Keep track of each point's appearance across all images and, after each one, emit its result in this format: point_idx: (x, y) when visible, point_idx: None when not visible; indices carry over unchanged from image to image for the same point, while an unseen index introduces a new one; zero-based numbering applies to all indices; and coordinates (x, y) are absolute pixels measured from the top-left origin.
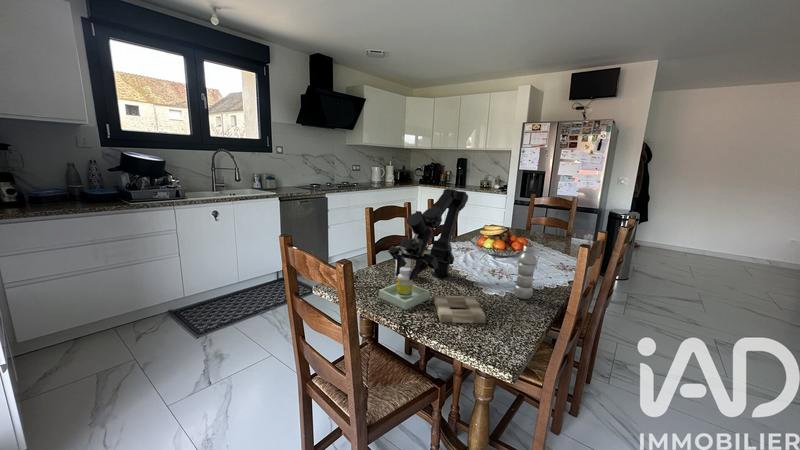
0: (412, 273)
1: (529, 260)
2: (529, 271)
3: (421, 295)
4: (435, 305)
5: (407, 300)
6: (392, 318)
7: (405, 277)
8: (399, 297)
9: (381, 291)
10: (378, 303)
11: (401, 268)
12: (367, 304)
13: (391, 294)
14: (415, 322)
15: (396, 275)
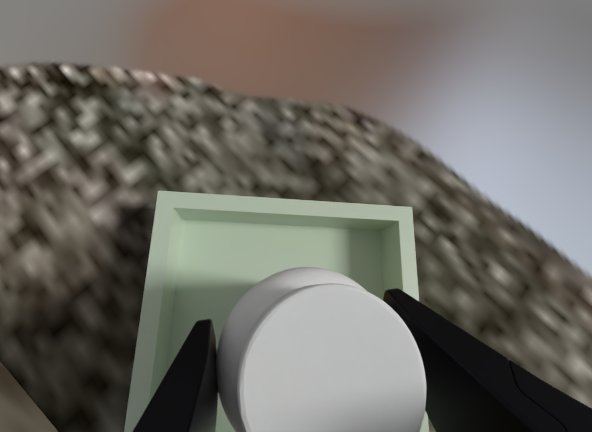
0: (177, 380)
1: None
2: None
3: (132, 377)
4: (31, 407)
5: (161, 219)
6: (170, 104)
7: (254, 296)
8: None
9: (387, 206)
10: (337, 171)
11: (383, 333)
12: (364, 127)
13: (306, 213)
14: (43, 146)
15: (387, 290)
